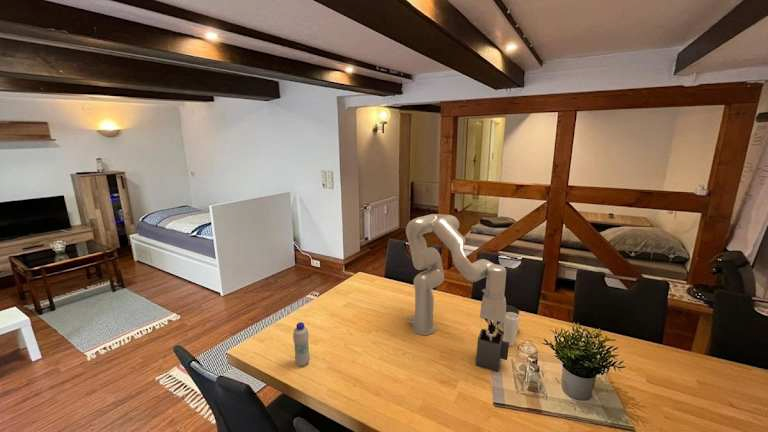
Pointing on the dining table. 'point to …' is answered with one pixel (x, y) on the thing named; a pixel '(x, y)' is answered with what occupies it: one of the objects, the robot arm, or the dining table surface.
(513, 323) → the drinking glass
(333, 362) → the dining table surface
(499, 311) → the robot arm
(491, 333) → the plunger
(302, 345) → the bottle
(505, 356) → the block
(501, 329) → the supplement container
